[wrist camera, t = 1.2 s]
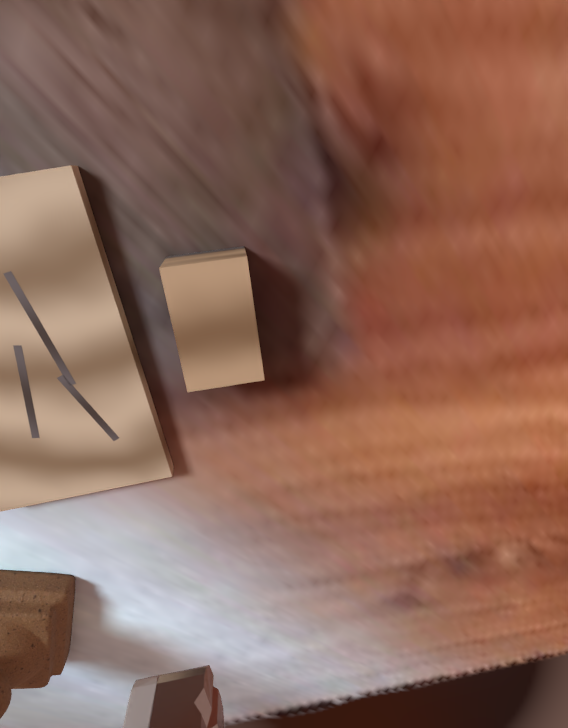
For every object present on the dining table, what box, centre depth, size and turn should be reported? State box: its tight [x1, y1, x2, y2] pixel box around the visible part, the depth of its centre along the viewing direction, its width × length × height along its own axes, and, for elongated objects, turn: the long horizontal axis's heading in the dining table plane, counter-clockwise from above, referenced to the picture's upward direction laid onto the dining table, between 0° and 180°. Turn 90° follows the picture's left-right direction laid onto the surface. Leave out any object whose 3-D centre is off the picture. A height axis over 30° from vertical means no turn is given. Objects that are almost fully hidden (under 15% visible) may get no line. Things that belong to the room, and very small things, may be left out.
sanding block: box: [159, 246, 265, 392], centre depth 28 cm, size 8×5×4 cm, turn 6°
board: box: [0, 165, 174, 511], centre depth 29 cm, size 22×13×1 cm, turn 9°
